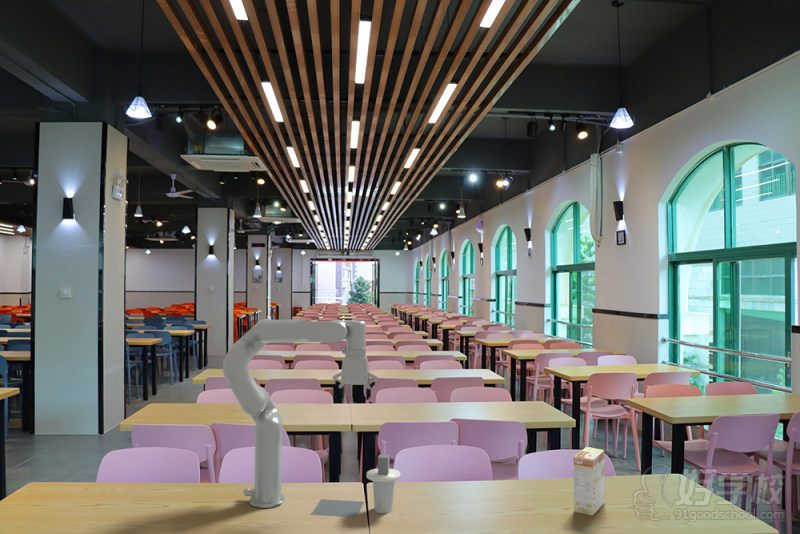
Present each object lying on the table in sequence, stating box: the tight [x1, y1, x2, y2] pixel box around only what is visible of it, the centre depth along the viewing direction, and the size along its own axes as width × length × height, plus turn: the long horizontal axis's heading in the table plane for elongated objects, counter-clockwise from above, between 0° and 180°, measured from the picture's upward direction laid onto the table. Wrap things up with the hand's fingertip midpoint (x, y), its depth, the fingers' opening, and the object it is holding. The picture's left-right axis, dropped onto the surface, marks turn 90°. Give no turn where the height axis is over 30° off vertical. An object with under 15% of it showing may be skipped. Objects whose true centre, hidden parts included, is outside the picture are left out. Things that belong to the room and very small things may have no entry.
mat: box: [310, 498, 365, 518], centre depth 202 cm, size 16×14×1 cm
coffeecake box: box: [573, 446, 606, 517], centre depth 206 cm, size 15×7×20 cm, turn 145°
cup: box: [372, 481, 396, 514], centre depth 201 cm, size 8×8×12 cm
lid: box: [366, 454, 401, 482], centre depth 201 cm, size 12×12×7 cm
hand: (355, 398), depth 216 cm, fingers open, 9 cm apart
